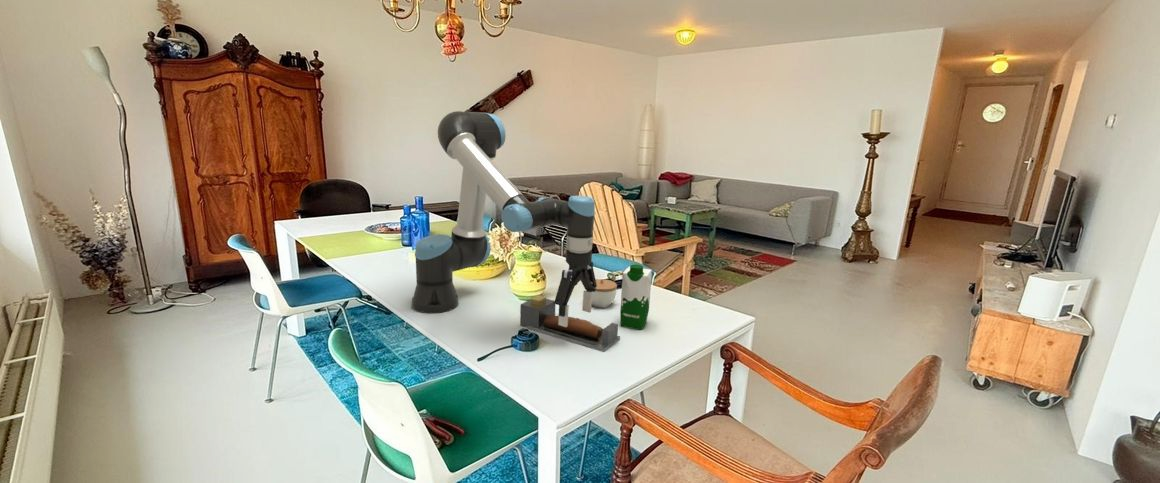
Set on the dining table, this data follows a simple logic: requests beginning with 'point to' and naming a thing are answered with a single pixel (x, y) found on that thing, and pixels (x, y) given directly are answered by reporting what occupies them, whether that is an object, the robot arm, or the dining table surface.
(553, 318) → the sunglasses case
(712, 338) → the dining table surface
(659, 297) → the dining table surface
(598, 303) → the lidded jar
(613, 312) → the dining table surface
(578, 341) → the motor mount
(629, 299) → the milk carton
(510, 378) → the dining table surface
